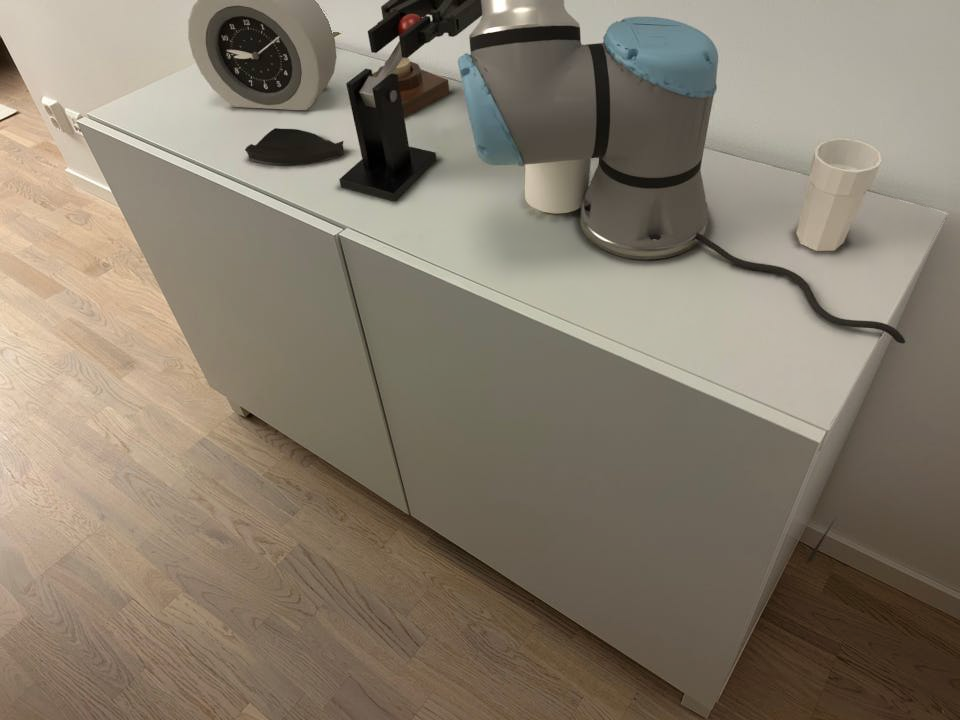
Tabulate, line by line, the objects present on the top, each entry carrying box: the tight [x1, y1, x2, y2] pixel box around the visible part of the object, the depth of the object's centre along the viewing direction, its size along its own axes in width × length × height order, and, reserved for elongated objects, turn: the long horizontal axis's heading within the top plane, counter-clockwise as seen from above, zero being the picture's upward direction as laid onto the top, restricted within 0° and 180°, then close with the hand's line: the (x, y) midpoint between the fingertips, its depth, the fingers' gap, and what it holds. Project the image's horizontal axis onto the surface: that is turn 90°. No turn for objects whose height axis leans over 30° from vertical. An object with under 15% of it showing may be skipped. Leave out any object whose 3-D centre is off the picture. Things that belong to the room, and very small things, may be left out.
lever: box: [359, 14, 423, 108], centre depth 94 cm, size 14×4×4 cm, turn 152°
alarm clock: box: [187, 0, 337, 111], centre depth 111 cm, size 21×8×20 cm, turn 77°
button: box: [384, 57, 411, 77], centre depth 113 cm, size 4×4×2 cm
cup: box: [795, 137, 883, 252], centre depth 80 cm, size 7×7×11 cm
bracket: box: [338, 68, 437, 202], centre depth 96 cm, size 11×9×14 cm
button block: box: [372, 60, 451, 118], centre depth 115 cm, size 12×10×4 cm
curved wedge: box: [244, 127, 345, 166], centre depth 106 cm, size 8×14×2 cm, turn 68°
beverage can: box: [524, 158, 592, 214], centre depth 89 cm, size 8×8×12 cm
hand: (387, 44), depth 91 cm, fingers closed on lever, 4 cm apart
